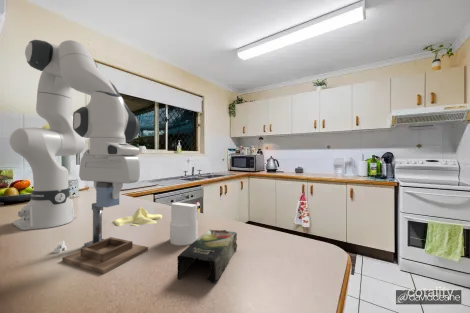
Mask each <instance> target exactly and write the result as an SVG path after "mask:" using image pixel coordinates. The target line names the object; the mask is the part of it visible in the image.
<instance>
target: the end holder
mask: <svg viewBox="0 0 470 313" xmlns="http://www.w3.org/2000/svg"><path fill="white" fill-rule="evenodd" d="M104 239H105V240H102V241H99V242H97V243H94V244H91V245H89V246H86V247H85V246H83V247H81V248H80V250H78V251H76V252H73V253H70V254H68V255H65V256H62V258H61V262H63V263H67V264H69V265H73V266H75V267H79V268H83V269H86V270H89V271H92V272H95V273H99V274H102V275H104V274H106V273H108V272H111V271H112V270H115V269H116V268H118V267H119V266H121V265H123V264H125V263H127V262H129V261H131V260H133V259H134V258H137V257H139V256H140V255H143V254H144V253H146V252H148V250H149V246H145V245H140V244H135V243H133V241H132V240H128V239H127V240H126V239H121V238H118V237H117V238H116V237H112V236H110V237H107V238H104Z"/></svg>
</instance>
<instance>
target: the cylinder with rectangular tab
mask: <svg viewBox="0 0 470 313" xmlns="http://www.w3.org/2000/svg"><path fill="white" fill-rule="evenodd" d="M170 207H171V208H170V209H171V210H170V214H171V215H170V217H171V219H170V220H171V221H170V223H169V226H170V227H169V242H170V244H172V245H174V246H188V245H189V246H190V245H191V244H192V243H193V242H194V241H196V240H197V239H198V226H199V224H198V204H194V203H186V202H179V201H177V202H172V203H171V206H170Z"/></svg>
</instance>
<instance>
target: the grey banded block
mask: <svg viewBox="0 0 470 313" xmlns="http://www.w3.org/2000/svg"><path fill="white" fill-rule="evenodd" d="M113 189H114V187H113V183H112V182H99V183H96V189H95V191H96V195H95V196H96V202H95V203H96V206H98V207H103V208H111V207H115V206H119V205H120V197H119V198H118V199H111V198H110V192H113Z"/></svg>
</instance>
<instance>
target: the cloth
mask: <svg viewBox="0 0 470 313" xmlns="http://www.w3.org/2000/svg"><path fill="white" fill-rule="evenodd" d="M162 219H163V215H162V214H158V213H156V214H151V213H149V212H148V211H147V210H146V209H145V208H144V207H142V206H141V207H138V208H136V211H135V212H134V213H133V215H131V216H123V217H119V218H116V219H114V220H113V221H112V222H113V223H114V225H115V226H117V227H122V226H124V225H130V226H131V227H140V226H141V225H153V224H157V223H158V222H157V221H156V220H162Z"/></svg>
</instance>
